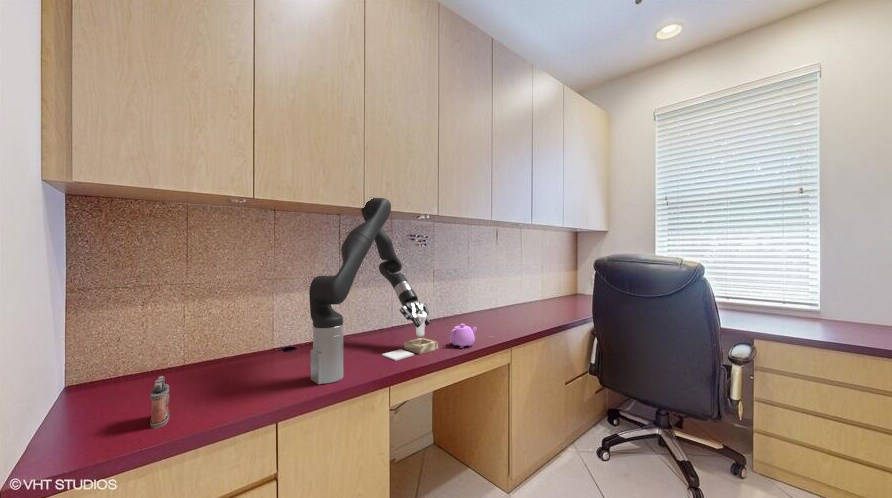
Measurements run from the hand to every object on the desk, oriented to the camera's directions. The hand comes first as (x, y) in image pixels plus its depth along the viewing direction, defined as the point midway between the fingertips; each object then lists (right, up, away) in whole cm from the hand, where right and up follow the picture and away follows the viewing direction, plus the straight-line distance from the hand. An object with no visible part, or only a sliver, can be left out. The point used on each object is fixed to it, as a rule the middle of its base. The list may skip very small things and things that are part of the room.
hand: (423, 325), depth 137 cm
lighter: (-61, -10, -57) cm, 84 cm away
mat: (-10, -10, -7) cm, 16 cm away
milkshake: (-1, -5, +1) cm, 5 cm away
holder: (-1, -10, +1) cm, 10 cm away
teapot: (+17, -11, +7) cm, 21 cm away
